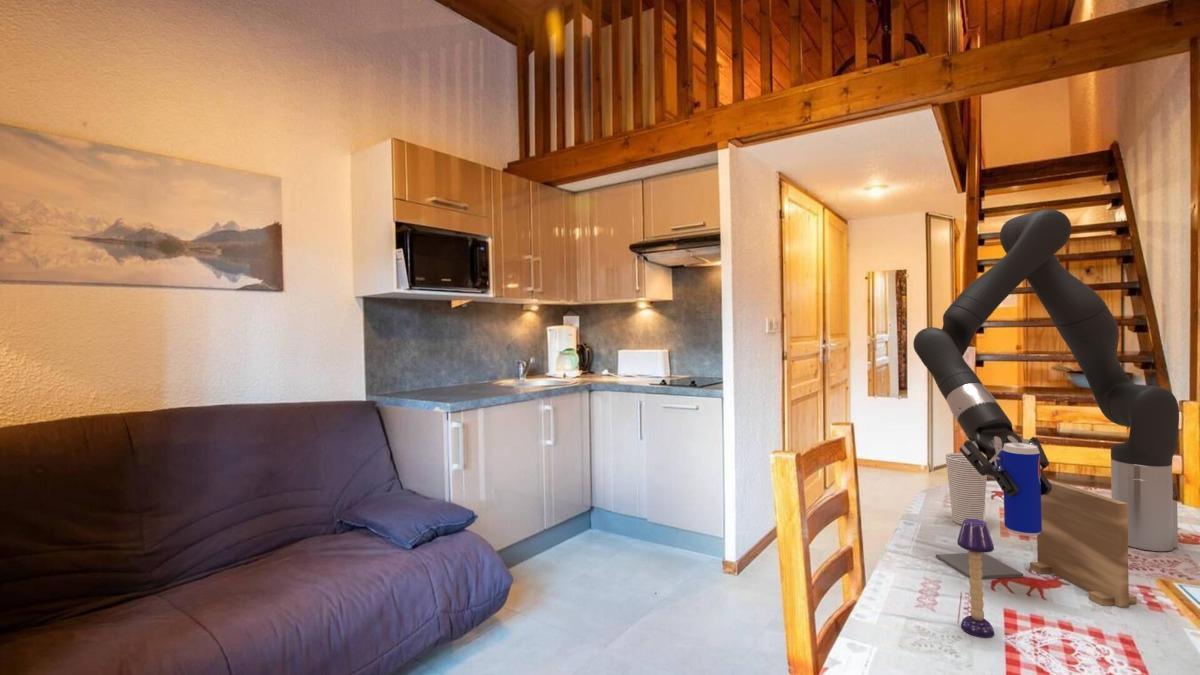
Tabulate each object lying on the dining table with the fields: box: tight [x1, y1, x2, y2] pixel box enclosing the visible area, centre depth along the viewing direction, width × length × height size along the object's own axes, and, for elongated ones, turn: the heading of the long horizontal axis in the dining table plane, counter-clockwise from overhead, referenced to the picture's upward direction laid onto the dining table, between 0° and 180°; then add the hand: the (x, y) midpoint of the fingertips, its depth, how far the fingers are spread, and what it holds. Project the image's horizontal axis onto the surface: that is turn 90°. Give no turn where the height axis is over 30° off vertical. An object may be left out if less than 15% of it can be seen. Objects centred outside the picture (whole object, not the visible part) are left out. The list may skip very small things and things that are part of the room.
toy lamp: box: [957, 519, 995, 638], centre depth 85 cm, size 5×5×17 cm
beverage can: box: [1003, 443, 1042, 537], centre depth 96 cm, size 5×5×15 cm
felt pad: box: [935, 552, 1025, 580], centre depth 107 cm, size 10×10×1 cm
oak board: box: [1029, 478, 1138, 608], centre depth 99 cm, size 6×16×17 cm, turn 3°
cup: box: [945, 452, 988, 526], centre depth 131 cm, size 8×8×16 cm
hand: (1030, 493), depth 94 cm, fingers closed on beverage can, 5 cm apart
